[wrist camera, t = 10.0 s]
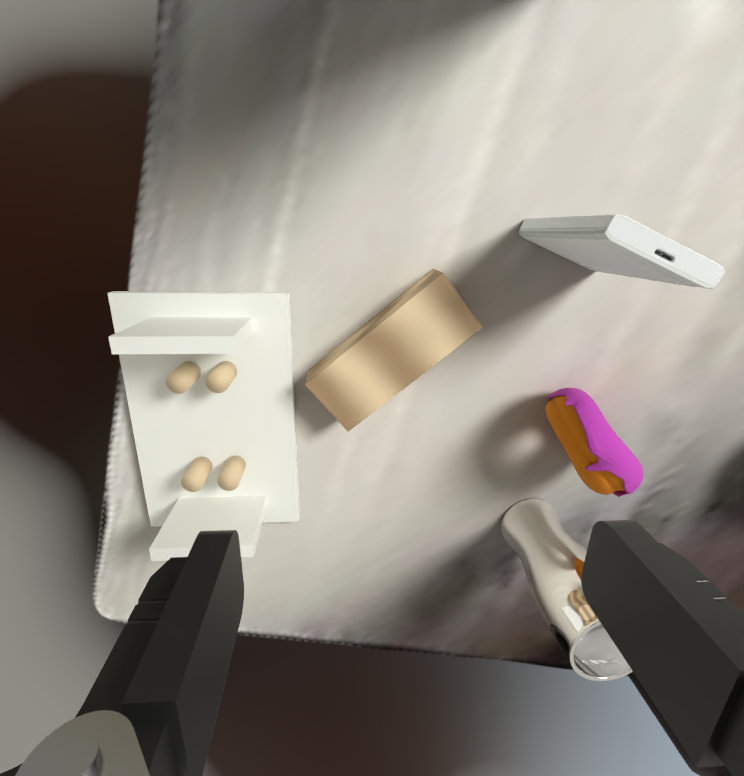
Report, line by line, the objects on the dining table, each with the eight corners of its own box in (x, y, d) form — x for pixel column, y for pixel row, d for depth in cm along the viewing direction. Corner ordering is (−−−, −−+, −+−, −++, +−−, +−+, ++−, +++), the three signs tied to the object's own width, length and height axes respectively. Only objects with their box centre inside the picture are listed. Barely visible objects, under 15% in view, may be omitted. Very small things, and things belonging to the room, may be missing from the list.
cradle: (113, 291, 35) (53, 307, 28) (289, 292, 36) (277, 307, 29) (154, 520, 42) (116, 581, 35) (299, 515, 44) (292, 573, 36)
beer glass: (483, 536, 46) (549, 668, 32) (520, 484, 45) (606, 601, 30) (535, 557, 48) (619, 693, 34) (572, 509, 46) (677, 631, 32)
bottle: (655, 590, 51) (842, 798, 32) (633, 634, 53) (796, 852, 34) (603, 585, 50) (765, 796, 31) (583, 629, 52) (722, 851, 33)
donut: (609, 370, 41) (691, 410, 32) (598, 456, 44) (669, 517, 35) (528, 377, 41) (586, 420, 31) (522, 464, 44) (573, 527, 34)
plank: (432, 268, 37) (443, 272, 33) (468, 318, 39) (482, 327, 35) (307, 370, 39) (304, 384, 35) (346, 413, 41) (348, 431, 37)
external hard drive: (596, 273, 38) (712, 292, 26) (515, 235, 36) (601, 237, 25) (606, 255, 37) (729, 266, 26) (525, 216, 36) (617, 208, 24)
